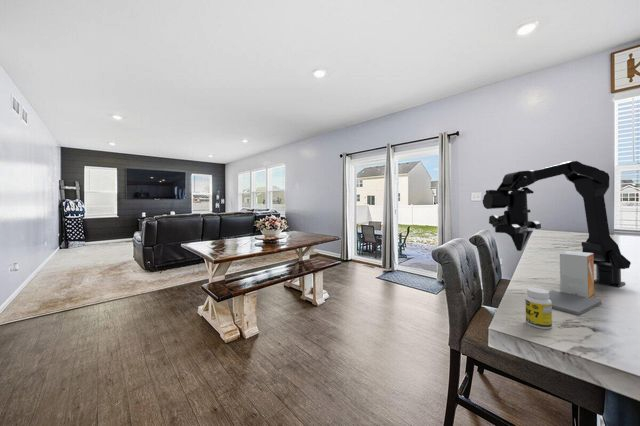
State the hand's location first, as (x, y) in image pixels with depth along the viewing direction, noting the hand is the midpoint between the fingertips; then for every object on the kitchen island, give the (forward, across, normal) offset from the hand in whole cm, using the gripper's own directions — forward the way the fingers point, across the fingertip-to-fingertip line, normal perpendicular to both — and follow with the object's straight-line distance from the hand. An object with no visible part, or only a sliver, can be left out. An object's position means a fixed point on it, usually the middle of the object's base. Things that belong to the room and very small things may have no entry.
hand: (519, 250), depth 89 cm
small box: (+13, -3, +14) cm, 19 cm away
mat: (+12, +9, +14) cm, 21 cm away
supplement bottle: (+12, +31, +17) cm, 37 cm away
